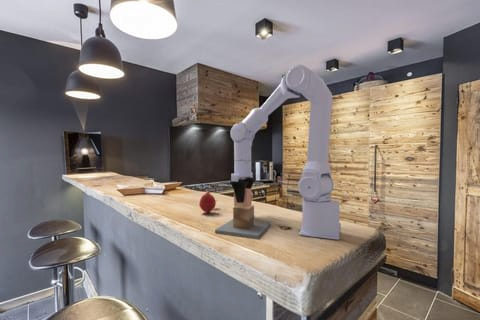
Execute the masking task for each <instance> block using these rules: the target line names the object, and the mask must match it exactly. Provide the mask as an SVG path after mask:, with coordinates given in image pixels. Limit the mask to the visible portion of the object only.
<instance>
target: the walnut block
mask: <svg viewBox="0 0 480 320" xmlns="http://www.w3.org/2000/svg"><path fill="white" fill-rule="evenodd" d="M232 215H233V217H232V219H233V227H234V228H242V229H250V228H251V227H252V226H253V225H254V221H255V205H253V204H252V205H241V204H239V205H237V206H233V208H232Z"/></svg>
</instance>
